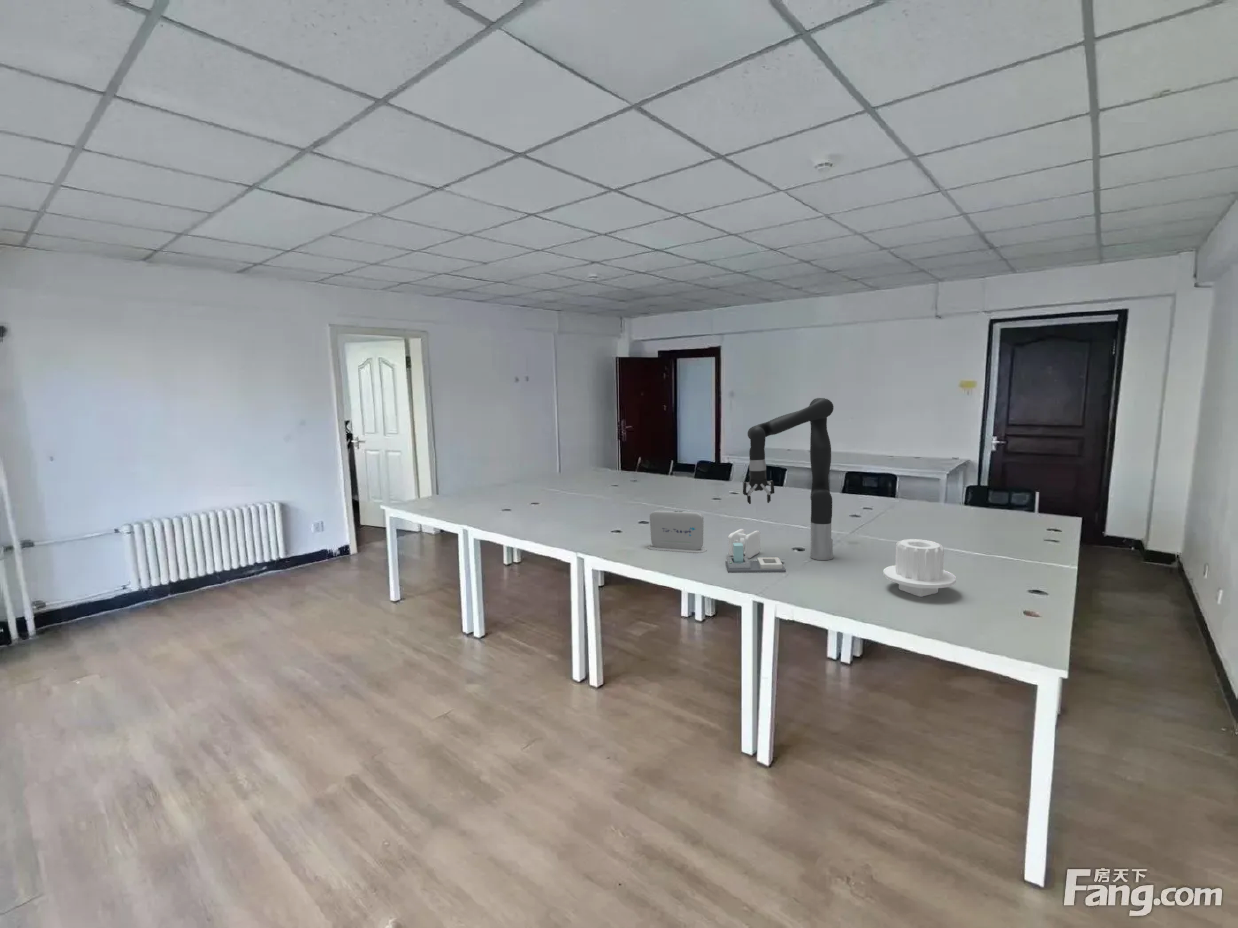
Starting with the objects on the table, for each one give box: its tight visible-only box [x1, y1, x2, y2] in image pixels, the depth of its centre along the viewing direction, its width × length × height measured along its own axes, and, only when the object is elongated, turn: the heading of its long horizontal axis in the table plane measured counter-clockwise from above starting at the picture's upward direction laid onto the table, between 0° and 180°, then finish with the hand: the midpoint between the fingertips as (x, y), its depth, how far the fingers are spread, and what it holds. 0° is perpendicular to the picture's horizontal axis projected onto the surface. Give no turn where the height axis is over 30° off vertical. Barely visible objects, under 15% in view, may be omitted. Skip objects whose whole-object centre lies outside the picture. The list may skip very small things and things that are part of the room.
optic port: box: [726, 556, 750, 569], centre depth 259 cm, size 10×10×3 cm
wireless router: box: [647, 509, 708, 554], centre depth 292 cm, size 31×10×20 cm, turn 68°
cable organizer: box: [727, 528, 761, 560], centre depth 278 cm, size 15×11×12 cm
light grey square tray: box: [756, 557, 783, 569], centre depth 257 cm, size 10×10×2 cm
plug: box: [732, 543, 744, 562], centre depth 258 cm, size 4×5×10 cm
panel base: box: [724, 560, 786, 574], centre depth 258 cm, size 25×14×1 cm, turn 84°
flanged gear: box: [882, 538, 957, 598], centre depth 220 cm, size 25×25×19 cm
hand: (758, 503), depth 267 cm, fingers open, 8 cm apart
